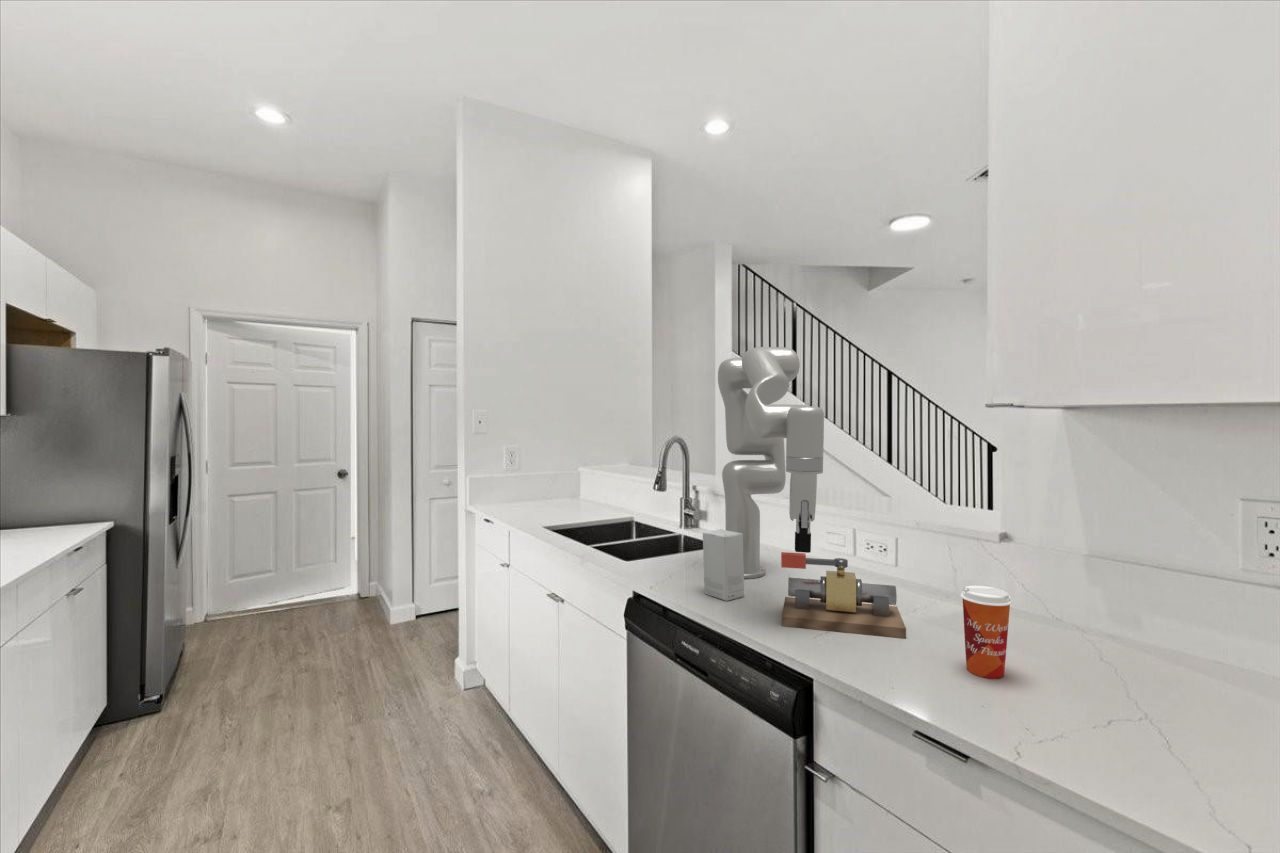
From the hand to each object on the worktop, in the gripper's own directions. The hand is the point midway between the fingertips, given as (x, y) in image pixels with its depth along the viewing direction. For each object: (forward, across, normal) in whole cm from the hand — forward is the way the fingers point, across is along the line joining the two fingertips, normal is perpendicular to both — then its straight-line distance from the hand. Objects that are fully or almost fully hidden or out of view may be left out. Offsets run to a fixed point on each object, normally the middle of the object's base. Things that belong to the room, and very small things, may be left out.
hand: (802, 551), depth 125 cm
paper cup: (+15, +18, +30) cm, 38 cm away
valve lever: (+5, -5, +3) cm, 8 cm away
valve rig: (+15, -3, +8) cm, 18 cm away
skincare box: (+16, -16, -18) cm, 29 cm away
